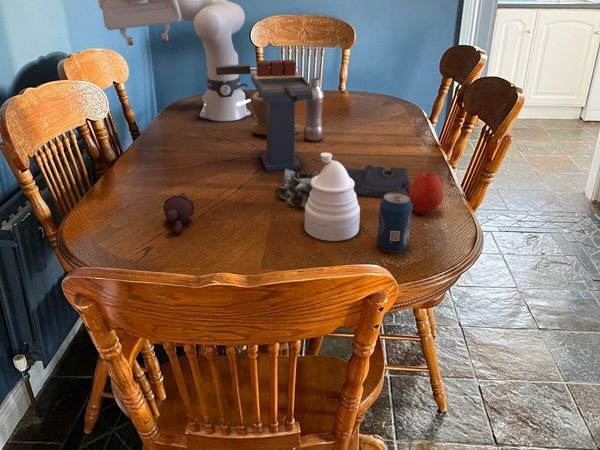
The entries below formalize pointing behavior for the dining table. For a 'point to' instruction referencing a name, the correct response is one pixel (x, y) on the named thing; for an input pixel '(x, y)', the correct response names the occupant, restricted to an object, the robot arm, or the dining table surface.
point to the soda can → (394, 221)
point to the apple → (426, 193)
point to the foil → (296, 188)
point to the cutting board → (255, 76)
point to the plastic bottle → (314, 112)
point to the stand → (280, 129)
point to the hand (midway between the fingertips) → (148, 42)
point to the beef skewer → (260, 68)
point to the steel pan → (284, 86)
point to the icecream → (178, 210)
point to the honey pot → (332, 204)
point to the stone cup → (262, 115)
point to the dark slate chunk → (378, 180)
